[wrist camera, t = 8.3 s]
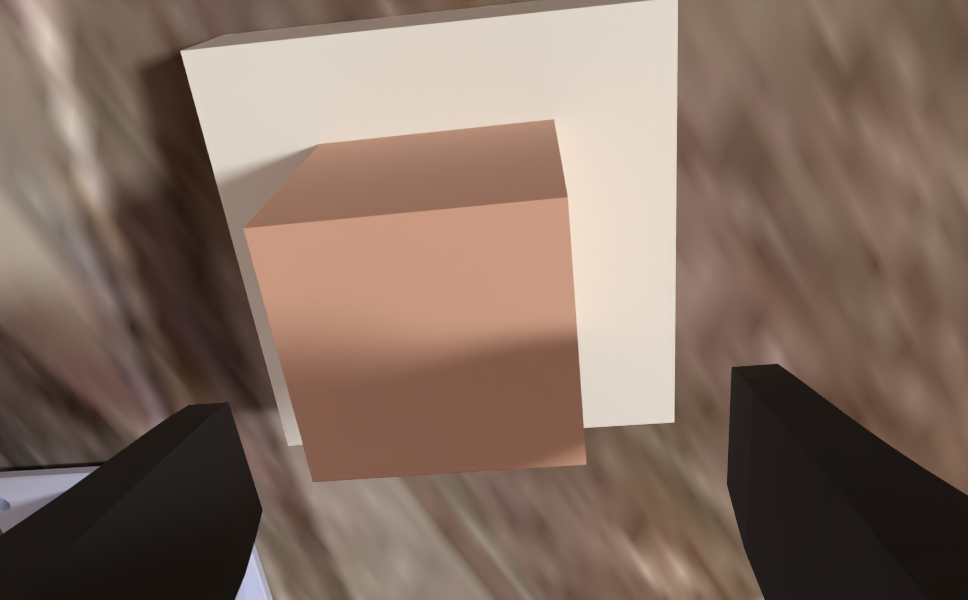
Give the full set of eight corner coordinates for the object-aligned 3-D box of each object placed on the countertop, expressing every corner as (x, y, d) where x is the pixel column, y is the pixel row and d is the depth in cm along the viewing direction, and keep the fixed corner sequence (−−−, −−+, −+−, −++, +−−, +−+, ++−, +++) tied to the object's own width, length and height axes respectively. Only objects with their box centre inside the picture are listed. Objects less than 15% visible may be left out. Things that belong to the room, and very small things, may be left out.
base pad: (657, 369, 21) (674, 422, 19) (311, 392, 22) (288, 445, 20) (656, -13, 17) (677, -3, 14) (223, 34, 18) (180, 50, 15)
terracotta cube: (569, 329, 18) (586, 464, 13) (363, 346, 18) (313, 482, 14) (554, 119, 16) (568, 196, 11) (319, 143, 16) (243, 228, 12)
